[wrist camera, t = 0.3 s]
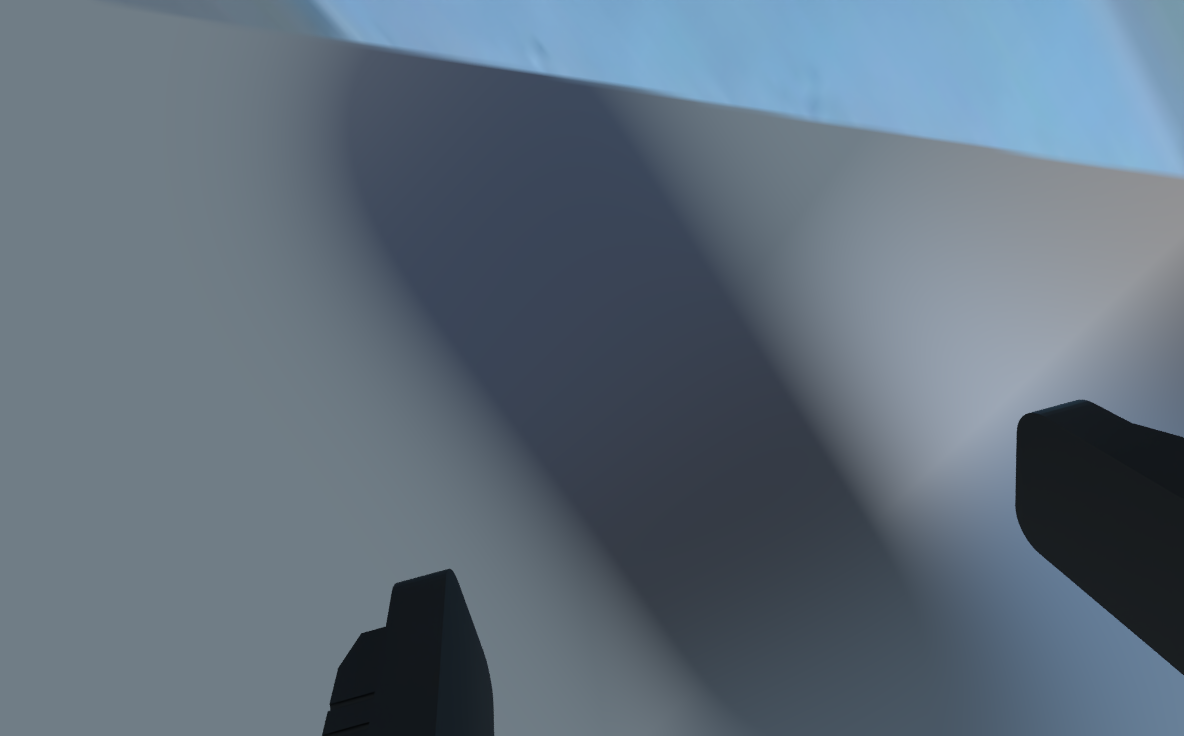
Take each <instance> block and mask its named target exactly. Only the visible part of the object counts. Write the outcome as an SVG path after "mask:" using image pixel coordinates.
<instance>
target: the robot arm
mask: <svg viewBox="0 0 1184 736" xmlns="http://www.w3.org/2000/svg"><path fill="white" fill-rule="evenodd" d="M1015 506H1016V514H1017V519H1018V522H1019V524H1020V527H1021V529H1022V531H1023V533H1024V535H1025V537H1026V538H1027V540H1028V541H1029V543H1030V544H1031V545H1032V546H1033V548H1034V549H1035V550H1036V551H1037V552H1039V554H1041V555H1042V556H1043V557H1044V558H1045V559H1047V560H1048V561H1049V562H1050V563H1052V565H1054V566H1055V567H1056V568H1057V569H1059V570H1060V571H1061V572H1062V573H1063V574H1064V575H1066V576H1067V577H1068V578H1069V579H1070V580H1071V581H1073V582H1074V583H1075V584H1076V585H1077V586H1079V587H1080V588H1081V589H1082V590H1083V591H1084V592H1086V593H1087V594H1088V595H1089V596H1090V597H1092V598H1093V599H1094V600H1095V601H1096V602H1098V603H1099V604H1100V605H1101V606H1102V607H1103V608H1105V609H1106V610H1107V611H1108V612H1109V613H1111V614H1112V615H1113V616H1114V617H1115V618H1117V619H1118V620H1119V621H1120V622H1121V623H1122V624H1124V625H1125V626H1126V627H1127V628H1128V629H1130V630H1131V631H1132V632H1133V633H1134V634H1135V635H1137V636H1138V637H1139V638H1140V639H1142V640H1143V641H1144V642H1145V643H1146V644H1147V645H1149V646H1150V647H1151V648H1152V649H1153V650H1154V651H1156V652H1157V653H1158V654H1159V655H1160V656H1162V657H1163V658H1164V659H1165V660H1166V661H1168V662H1169V663H1170V664H1171V665H1172V666H1173V667H1175V668H1176V669H1177V670H1178V671H1179V672H1181V673H1182V674H1183V675H1184V438H1183V437H1180V436H1176V435H1173V434H1169V433H1166V432H1162V431H1158V430H1155V429H1151V428H1148V427H1144V426H1140V425H1137V424H1132V423H1130V422H1129V421H1127V420H1125V419H1123V418H1121V417H1119V416H1117V415H1115V414H1113V413H1111V412H1110V411H1108V410H1106V409H1104V408H1102V407H1100V406H1098V405H1096V404H1094V403H1092V402H1090V401H1087V400H1076V401H1072V402H1068V403H1065V404H1061V405H1057V406H1054V407H1050V408H1046V409H1043V410H1039V411H1035V412H1032V413H1028V414H1025V415H1024V416H1023V417H1022V418H1021V419H1020V421H1019V423H1018V427H1017V449H1016V503H1015ZM493 710H494V709H493V693H492V686H491V680H490V674H489V669H488V665H487V661H486V658H485V655H484V652H483V649H482V646H481V643H480V641H479V638H478V635H477V632H476V629H475V627H474V624H473V621H472V618H471V616H470V613H469V610H468V608H467V605H466V602H465V599H464V596H463V594H462V591H461V588H460V585H459V583H458V580H457V578H456V576H455V574H454V572H453V571H452V570H451V569H447V570H443V571H439V572H435V573H432V574H429V575H425V576H421V577H417V578H414V579H410V580H406V581H402V582H399V583H396V584H395V585H394V587H393V590H392V594H391V600H390V606H389V612H388V617H387V623H386V627H383V628H379V629H376V630H372V631H369V632H365V633H361V635H360V636H359V638H358V639H357V641H356V642H355V644H354V645H353V647H352V648H351V650H350V651H349V653H348V654H347V656H346V657H345V659H344V660H343V662H342V663H341V665H340V666H339V668H338V672H337V676H336V679H335V684H334V688H333V692H332V696H331V700H330V711H328V713H327V717H326V721H325V725H324V729H323V734H322V736H494V711H493Z"/></svg>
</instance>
